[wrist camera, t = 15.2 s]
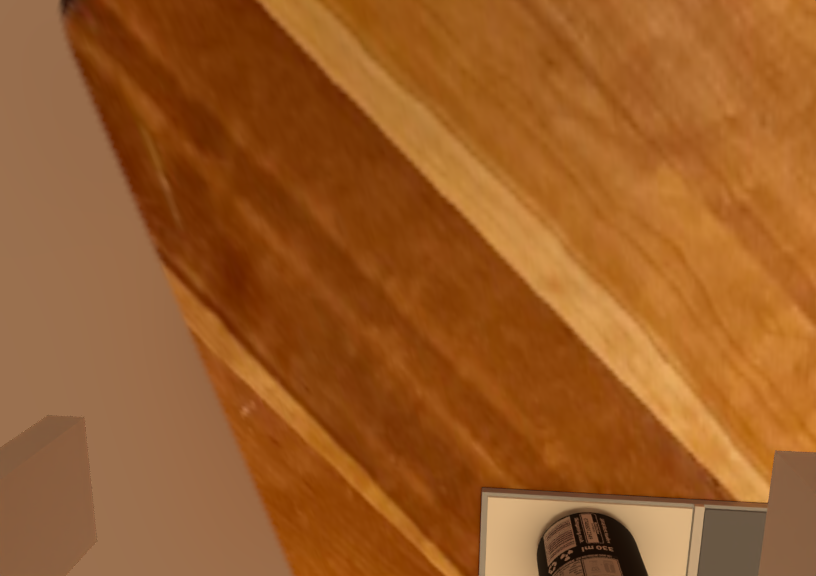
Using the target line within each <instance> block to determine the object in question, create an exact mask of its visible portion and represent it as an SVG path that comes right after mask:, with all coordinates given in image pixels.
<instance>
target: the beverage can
mask: <svg viewBox="0 0 816 576" xmlns="http://www.w3.org/2000/svg"><path fill="white" fill-rule="evenodd" d="M537 565H538V573H539V576H648V573H647V571H646V568H645V565H644V562H643V560H642V557H641V554H640V552H639V549H638V546H637V544H636V541H635V539H634V537H633V536H632V534H631V533H630V532H629V530H628V529H627V528H626V527H625V526H624V525H622V524H621V523H620V522H618V521H617V520H615V519H613V518H611V517H609V516H607V515H604V514H600V513H593V512H580V513H575V514H571V515H568V516H565V517H563V518H561V519H559V520H558V521H556V522H555V523H553V524H552V525H551V526H550V527H549V528H548V529H547V530H546V532H545V533H544V534H543V536H542V538H541V540H540V542H539V545H538V549H537Z"/></svg>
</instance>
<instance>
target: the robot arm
mask: <svg viewBox="0 0 816 576" xmlns="http://www.w3.org/2000/svg"><path fill="white" fill-rule="evenodd" d="M96 542H97V535H96V526H95V516H94V506H93V496H92V486H91V476H90V467H89V458H88V447H87V437H86V428H85V418H84V417H73V416H52V415H47V416H46V417H44V418H43V419H42V420H40V421H39V422H37V423H36V424H34V425H33V426H31V427H30V428H28V429H27V430H25V431H24V432H22V433H21V434H20V435H18V436H17V437H15V438H14V439H12V440H11V441H9V442H8V443H6V444H5V445H3V446H2V447H0V576H66V575H67V574H68V573H69V571H70V570H71V569H72V568H73V567H74V566H75V565H76V564H77V563H78V562H79V560H80V559H81V558H82V557H83V556H84V555H85V554H86V553H87V552H88V550H89V549H90V548H91V547H92V546H93V545H94V544H95V543H96ZM758 576H816V453H813V452H792V451H775V456H774V463H773V471H772V478H771V485H770V493H769V500H768V507H767V515H766V522H765V530H764V537H763V544H762V552H761V559H760V566H759V574H758Z"/></svg>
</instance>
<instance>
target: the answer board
mask: <svg viewBox="0 0 816 576" xmlns="http://www.w3.org/2000/svg"><path fill="white" fill-rule="evenodd" d="M767 507H768V503H750V502H732V501H714V500H696V499H678V498H660V497H643V496H625V495H607V494H589V493H571V492H553V491H535V490H518V489H500V488H482V503H481V532H480V560H479V576H539V573H538V565H537V549H538V545H539V542H540V540H541V538H542V536H543V534H544V533H545V532H546V530H547V529H548V528H549V527H550V526H551V525H552V524H553V523H555V522H556V521H558V520H559V519H561V518H563V517H565V516H568V515H571V514H575V513H580V512H593V513H600V514H604V515H607V516H609V517H611V518H613V519H615V520H617V521H618V522H620V523H621V524H622V525H624V526H625V527H626V528H627V529H628V530H629V532H630V533H631V534H632V536H633V537H634V539H635V541H636V544H637V546H638V549H639V552H640V554H641V557H642V560H643V562H644V565H645V568H646V571H647V573H648V576H758V574H759V566H760V559H761V552H762V544H763V537H764V530H765V522H766V515H767Z"/></svg>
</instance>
